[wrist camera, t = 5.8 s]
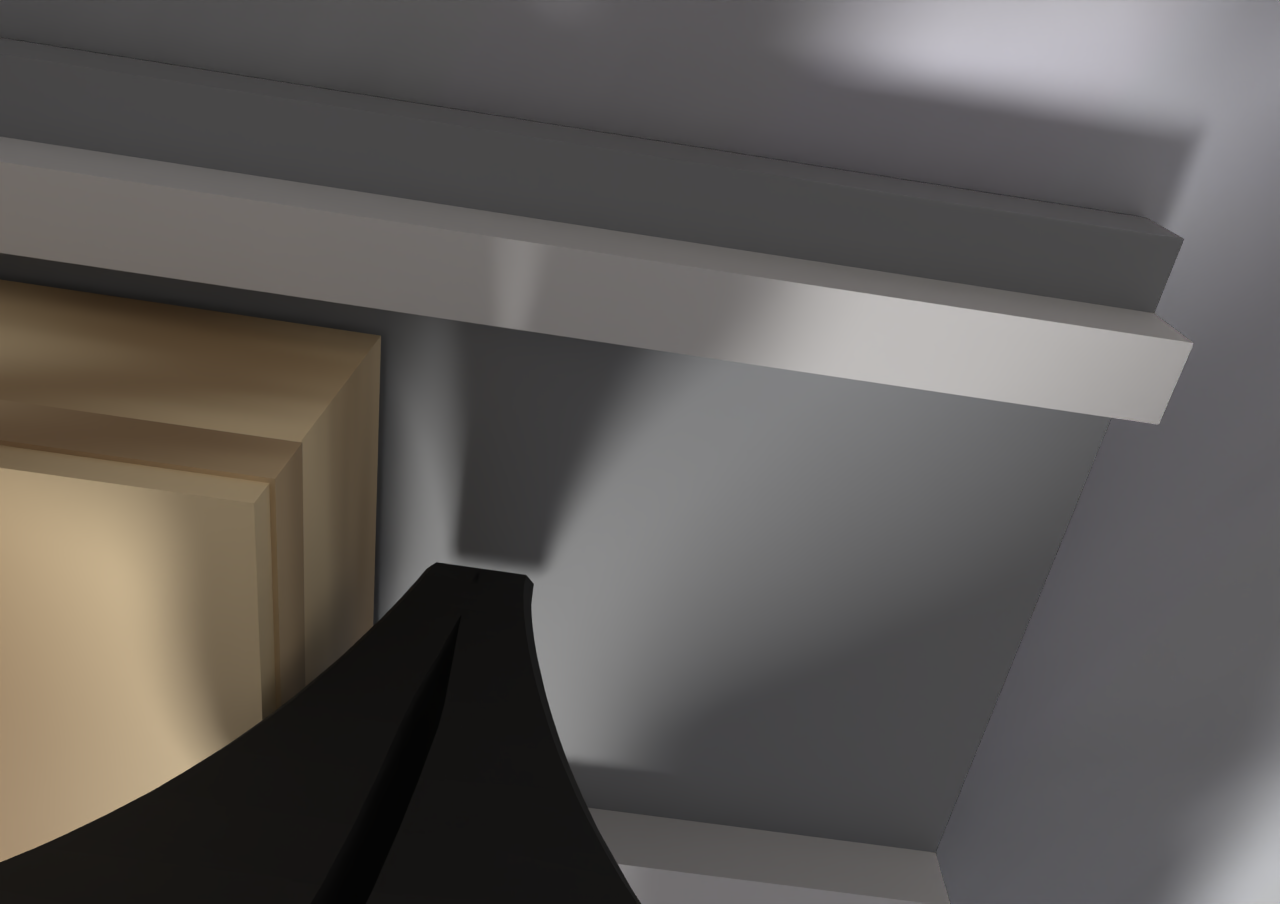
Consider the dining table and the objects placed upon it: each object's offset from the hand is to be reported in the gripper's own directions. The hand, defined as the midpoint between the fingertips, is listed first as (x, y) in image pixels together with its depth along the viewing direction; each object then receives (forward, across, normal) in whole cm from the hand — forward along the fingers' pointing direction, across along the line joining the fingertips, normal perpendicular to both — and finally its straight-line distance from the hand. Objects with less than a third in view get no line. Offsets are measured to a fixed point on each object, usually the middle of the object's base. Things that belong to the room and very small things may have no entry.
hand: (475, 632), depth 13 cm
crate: (+1, +5, 0) cm, 5 cm away
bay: (+2, +1, 0) cm, 2 cm away
